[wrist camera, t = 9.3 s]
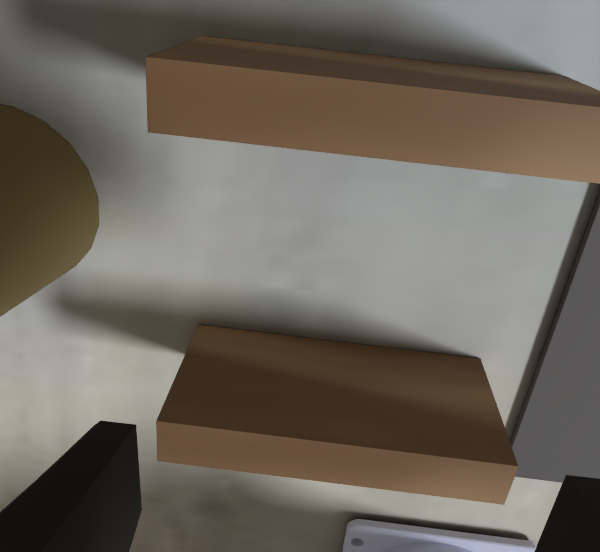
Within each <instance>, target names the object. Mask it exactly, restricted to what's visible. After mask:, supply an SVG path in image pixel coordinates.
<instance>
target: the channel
mask: <svg viewBox="0 0 600 552" xmlns="http://www.w3.org/2000/svg"><path fill="white" fill-rule="evenodd" d="M146 86H147V120H148V132H151V133H160V134H168V135H177V136H186V137H195V138H203V139H212V140H221V141H230V142H239V143H247V144H256V145H265V146H274V147H282V148H291V149H300V150H309V151H318V152H326V153H335V154H344V155H353V156H361V157H370V158H379V159H388V160H397V161H405V162H414V163H423V164H432V165H440V166H449V167H458V168H467V169H476V170H484V171H493V172H502V173H511V174H520V175H528V176H537V177H546V178H555V179H563V180H572V181H581V182H590V183H599V184H600V91H599V90H596V89H594V88H592V87H589V86H587V85H585V84H582V83H580V82H578V81H575V80H573V79H571V78H568V77H566V76H561V75H552V74H543V73H534V72H525V71H516V70H507V69H498V68H489V67H480V66H471V65H461V64H452V63H443V62H434V61H425V60H416V59H407V58H398V57H389V56H380V55H371V54H361V53H352V52H343V51H334V50H325V49H316V48H307V47H298V46H289V45H280V44H271V43H261V42H252V41H243V40H234V39H225V38H216V37H207V36H201V37H198V38H196V39H193V40H190V41H187V42H185V43H182V44H179V45H177V46H174V47H171V48H168V49H166V50H163V51H160V52H158V53H155V54H152V55H149V56H147V57H146ZM156 424H157V458H158V461H164V462H172V463H180V464H187V465H195V466H203V467H211V468H219V469H227V470H235V471H243V472H251V473H259V474H267V475H274V476H282V477H290V478H298V479H306V480H314V481H322V482H330V483H338V484H346V485H354V486H361V487H369V488H377V489H385V490H393V491H401V492H409V493H417V494H425V495H433V496H441V497H448V498H456V499H464V500H472V501H480V502H488V503H496V504H504V503H505V501H506V498H507V495H508V493H509V490H510V487H511V485H512V482H513V480H514V477H515V474H516V472H517V469H518V464H517V461H516V458H515V455H514V452H513V450H512V447H511V444H510V441H509V438H508V435H507V433H506V430H505V427H504V424H503V421H502V418H501V416H500V413H499V410H498V407H497V404H496V402H495V399H494V396H493V393H492V390H491V387H490V385H489V382H488V379H487V376H486V373H485V371H484V368H483V365H482V362H481V359H479V358H470V357H462V356H454V355H445V354H437V353H429V352H421V351H412V350H404V349H396V348H388V347H379V346H371V345H363V344H355V343H346V342H338V341H330V340H322V339H313V338H305V337H297V336H288V335H280V334H272V333H264V332H255V331H247V330H239V329H231V328H222V327H214V326H206V325H198V327H197V329H196V331H195V334H194V336H193V338H192V340H191V343H190V345H189V347H188V350H187V352H186V354H185V357H184V359H183V361H182V363H181V366H180V368H179V370H178V373H177V375H176V377H175V380H174V382H173V384H172V386H171V389H170V391H169V393H168V396H167V398H166V400H165V403H164V405H163V407H162V409H161V412H160V414H159V416H158V419H157V421H156Z"/></svg>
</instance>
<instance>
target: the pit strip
mask: <svg viewBox="0 0 600 552" xmlns="http://www.w3.org/2000/svg"><path fill="white" fill-rule="evenodd" d="M510 444H511V447H512V450H513V452H514V455H515V458H516V461H517V464H518V469H517V472H516V474H515V477H523V478H531V479H539V480H547V481H555V482H563V481H564V479H565V476H566V475H572V476H580V477H589V478H598V479H600V192H599V195H598V197H597V200H596V203H595V206H594V209H593V211H592V214H591V217H590V220H589V223H588V225H587V228H586V231H585V234H584V237H583V239H582V242H581V245H580V248H579V251H578V253H577V256H576V259H575V262H574V265H573V267H572V270H571V273H570V276H569V279H568V281H567V284H566V287H565V290H564V293H563V295H562V298H561V301H560V304H559V307H558V309H557V312H556V315H555V318H554V321H553V323H552V326H551V329H550V332H549V335H548V337H547V340H546V343H545V346H544V349H543V351H542V354H541V357H540V360H539V363H538V365H537V368H536V371H535V374H534V377H533V379H532V382H531V385H530V388H529V391H528V393H527V396H526V399H525V402H524V405H523V407H522V410H521V413H520V416H519V419H518V421H517V424H516V427H515V430H514V433H513V435H512V438H511V441H510Z"/></svg>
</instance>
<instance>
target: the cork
mask: <svg viewBox="0 0 600 552" xmlns="http://www.w3.org/2000/svg"><path fill="white" fill-rule="evenodd" d="M98 226H99V209H98V196H97V193H96V190H95V188H94V185H93V182H92V179H91V176H90V174H89V171H88V169H87V167H86V166H85V164H84V163H83V162H82V160H81V159H80V157H79V156H78V154H77V153H76V152H75V150H74V149H73V147H72V146H71V145H70V143H69V142H68V141H67V140H65V139H64V138H63V137H62V136H61V135H60V134H58V133H57V132H56V131H55V130H54V129H52V128H51V127H50V126H49V125H48V124H46V123H45V122H44V121H43V120H41V119H39V118H36V117H34V116H32V115H30V114H28V113H26V112H24V111H22V110H19V109H17V108H15V107H13V106H7V105H0V316H2V315H3V314H5V313H6V312H8V311H9V310H11V309H12V308H14V307H15V306H17V305H18V304H20V303H21V302H23V301H24V300H26V299H27V298H29V297H30V296H32V295H33V294H35V293H36V292H38V291H39V290H41V289H42V288H44V287H45V286H47V285H48V284H50V283H51V282H53V281H54V280H55V279H57V278H58V277H60V276H61V275H63V274H64V273H66V272H67V271H69V270H70V269H72V268H73V267H75V266H76V265H77V264H78V263H79V262H80V261H81V259H82V258H83V257H84V256H85V255H86V254H87V252H88V251H89V250H90V249H91V247H92V244H93V241H94V238H95V235H96V232H97V229H98Z"/></svg>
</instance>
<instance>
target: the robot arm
mask: <svg viewBox="0 0 600 552" xmlns="http://www.w3.org/2000/svg"><path fill="white" fill-rule="evenodd" d="M141 510H142V508H141V493H140V478H139V463H138V448H137V433H136V425H133V424H124V423H116V422H107V421H100V422H98V423H97V424H96V425H94V426H93V427H92V428H91V429H90V430H89V431H88V432H87V433H86V434H85V435H84V436H83V437H82V438H81V439H79V440H78V441H77V442H76V443H75V444H74V445H73V446H72V447H71V448H70V449H69V450H68V451H67V452H66V453H65V454H64V455H63V456H62V457H60V458H59V459H58V460H57V461H56V462H55V463H54V464H53V465H52V466H51V467H50V468H49V469H48V470H47V471H45V472H44V473H43V474H42V475H41V476H40V477H39V478H38V479H37V480H36V481H35V482H34V483H33V484H31V485H30V486H29V487H28V488H27V489H26V490H25V491H24V492H22V493H21V494H20V495H19V496H18V497H17V498H16V499H15V500H13V501H12V502H11V503H10V504H9V505H8V506H7V507H6V508H4V509H3V510H2V511H1V512H0V552H129V550H130V547H131V544H132V540H133V537H134V534H135V530H136V527H137V524H138V520H139V517H140V513H141ZM342 552H600V479H598V478H589V477H580V476H572V475H566V476H565V479H564V481H563V484H562V486H561V489H560V491H559V493H558V496H557V498H556V501H555V503H554V506H553V508H552V510H551V513H550V515H549V518H548V520H547V523H546V525H545V527H544V530H543V532H542V535H541V537H540V540H539V542H538V544H537V545H536V544H535V543H534V542H532V541H528V540H520V539H513V538H505V537H497V536H489V535H481V534H473V533H466V532H458V531H450V530H442V529H434V528H426V527H419V526H411V525H403V524H395V523H387V522H379V521H372V520H364V519H355V520H352V521H350V522H349V523H348V525H347V528H346V533H345V538H344V543H343V549H342Z"/></svg>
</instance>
